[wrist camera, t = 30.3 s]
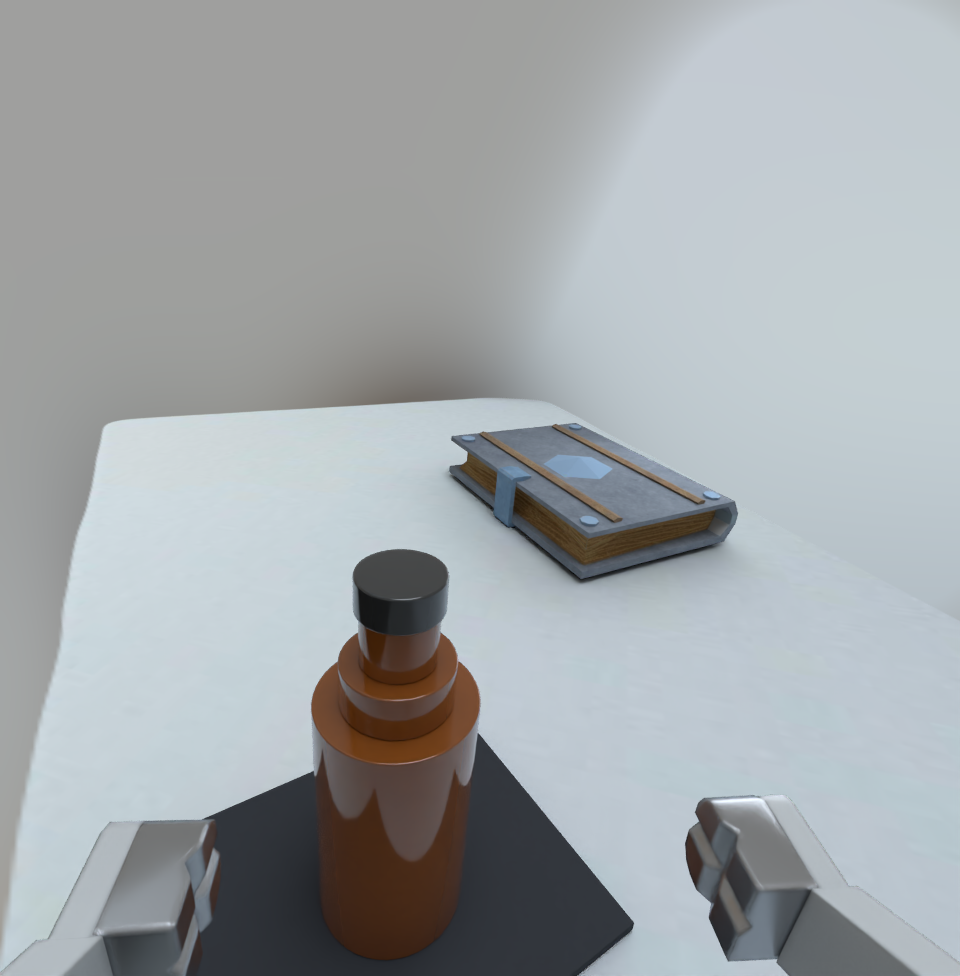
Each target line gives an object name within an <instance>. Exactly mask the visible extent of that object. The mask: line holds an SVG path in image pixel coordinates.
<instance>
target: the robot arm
mask: <svg viewBox="0 0 960 976" xmlns="http://www.w3.org/2000/svg"><path fill="white" fill-rule="evenodd" d="M695 813H696V815H697V817H698V820H699V822H698V823H697V824H695V825H694V826H693V827H692V828H691V829H689V832H688V835H687V839H686V842H685V847H686V861H687V865H688V869H689V872H690V875H691V878H692V880H693V883H694V885H695V887H696V890H697V891H698V892H699V893H701V894H702V895H703V896H704V897H705V898H706V899H707V900H708V901H709V902H711V907H710V913H709V920H710V922H711V924H712V926H713V929H714V931H715V933H716V936H717V938H718V940H719V942H720V945H721V947H722V949H723V951H724V954H725V956H726V958H727V960H728V961H748V960H768V959H778V960H777V963H778V965H779V966H780V967H781V968H782V969H783V970H784V971H785V972H786V973H787V974H788V975H789V976H960V962H959V961H957V960H956V959H955V958H953V957H952V956H951V955H949V954H948V953H947V952H945V951H944V950H943V949H941V948H940V947H939V946H937V945H936V944H935V943H933V942H932V941H931V940H929V939H928V938H927V937H925V936H924V935H923V934H921V933H920V932H919V931H917V930H916V929H915V928H913V927H912V926H911V925H909V924H908V923H907V922H905V921H904V920H903V919H901V918H900V917H899V916H897V915H896V914H894V913H893V912H892V911H890V910H889V909H888V908H886V907H885V906H884V905H882V904H881V903H880V902H878V901H877V900H876V899H874V898H873V897H872V896H870V895H869V894H868V893H866V892H865V891H864V890H862V889H861V888H860V887H858V886H849V885H848V883H847V882H846V880H845V879H844V877H843V876H842V874H841V873H840V871H839V870H838V868H837V867H836V865H835V864H834V862H833V861H832V859H831V858H830V856H829V855H828V853H827V852H826V850H825V849H824V847H823V846H822V844H821V843H820V841H819V840H818V838H817V837H816V835H815V834H814V833H813V831H812V830H811V828H810V827H809V825H808V824H807V822H806V821H805V819H804V818H803V816H802V815H801V813H800V812H799V810H798V809H797V807H796V806H795V804H794V803H793V802H792V800H791V799H789V798H788V797H787V796H785V795H765V796H754V795H747V796H730V797H713V798H704V799H702V800H701V801H700V802H699V803H698V805H697V808H696V811H695ZM217 834H218V833H217V827H216V822H215V820H165V821H124V822H109V824H108V825H107V826H106V827H105V828H104V830H103V831H102V832H101V833H100V835H99V837H98V839H97V841H96V843H95V845H94V847H93V849H92V851H91V853H90V855H89V857H88V859H87V861H86V863H85V865H84V867H83V869H82V871H81V873H80V875H79V877H78V879H77V881H76V883H75V885H74V887H73V889H72V891H71V893H70V895H69V897H68V899H67V901H66V903H65V905H64V907H63V909H62V911H61V913H60V915H59V917H58V919H57V921H56V923H55V925H54V927H53V929H52V931H51V933H50V935H49V937H48V939H44V940H36V941H35V942H34V943H33V944H31V945H30V946H29V947H28V948H27V949H26V950H25V951H24V952H22V953H21V954H20V955H19V956H18V957H17V958H16V959H15V960H14V961H12V962H11V963H10V964H9V965H8V966H7V967H6V968H5V969H4V970H2V971H1V972H0V976H197V973H198V970H199V966H200V963H201V959H202V956H203V951H202V944H201V937H200V934H201V933H202V931H203V930H204V929H205V928H206V927H207V926H208V925H209V924H210V923H211V922H212V919H213V915H214V911H215V907H216V903H217V899H218V893H219V887H220V880H221V856H220V852H218V851H217V850H216V849H215V848H214V844H215V841H216V837H217Z"/></svg>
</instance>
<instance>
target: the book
mask: <svg viewBox="0 0 960 976" xmlns="http://www.w3.org/2000/svg"><path fill="white" fill-rule="evenodd" d="M451 440H452V441H453V442H455V443H456V444H457V445H459V446H460V447H462V448H463V449H464V450H466V451H467V452H468V455H467V462H465V463H464V464H462V465H455V466H450V470H449V472H450V473H452V474H453V475H454V476H455V477H457V478H458V479H459V480H460V481H461V482H463V483H464V484H465V485H466V486H468V487H469V488H470V489H471V490H472V491H474V492H475V493H476V494H477V495H479V496H480V497H481V498H482V499H483V500H485V501H486V502H487V503H488V504H490V505H491V506H492V507H493V508H494V513H493V514H494V515H495V516H496V517H497V518H498V519H499V520H501V521H502V522H503V523H504V524H505V525H507V526H508V527H514V526H517V527H518V528H519V529H520V530H522V531H523V532H524V533H525V534H526V535H528V536H529V537H530V538H531V539H533V540H534V541H535V542H536V543H537V544H539V545H540V546H541V547H542V548H544V549H545V550H546V551H547V552H549V553H550V554H551V555H552V556H553V557H555V558H556V559H557V560H558V561H560V562H561V563H562V564H563V565H564V566H566V567H567V568H568V569H569V570H571V571H572V572H573V573H574V574H576V575H577V576H578V577H579V578H580V579H583V578H587V577H591V576H594V575H598V574H602V573H606V572H610V571H613V570H617V569H621V568H625V567H628V566H632V565H636V564H640V563H643V562H647V561H651V560H655V559H659V558H662V557H666V556H670V555H674V554H677V553H681V552H685V551H689V550H693V549H696V548H700V547H704V546H708V545H711V544H715V543H719V542H723V541H724V540H725V538H726V537H727V535H728V534H729V532H730V531H731V529H732V528H733V526H734V525H735V523H736V519H737V516H738V512H737V508H736V504H735V501H733V500H731V499H729V498H727V497H725V496H723V495H721V494H719V493H717V492H715V491H713V490H711V489H709V488H707V487H705V486H703V485H701V484H699V483H697V482H695V481H693V480H691V479H689V478H687V477H685V476H682V475H680V474H678V473H676V472H674V471H672V470H670V469H668V468H666V467H664V466H662V465H660V464H658V463H656V462H654V461H652V460H650V459H648V458H646V457H644V456H642V455H640V454H638V453H636V452H634V451H632V450H630V449H628V448H626V447H624V446H621V445H619V444H617V443H615V442H613V441H611V440H609V439H607V438H605V437H603V436H601V435H599V434H597V433H595V432H593V431H591V430H589V429H587V428H585V427H583V426H581V425H579V424H577V423H572V424H563V425H557V424H555V425H553V426H544V427H535V428H525V429H516V430H506V431H497V432H482V433H478V434H468V435H459V436H452V439H451Z"/></svg>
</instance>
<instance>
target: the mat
mask: <svg viewBox="0 0 960 976" xmlns="http://www.w3.org/2000/svg"><path fill="white" fill-rule="evenodd" d="M202 820H215V822H216V827H217V833H218V834H217V837H216V841H215V844H214V848H215V849H216V850H217V851H218V852H220V856H221V880H220V887H219V893H218V899H217V903H216V907H215V911H214V915H213V919H212V922H211V923H210V924H209V925H208V926H207V927H206V928H205V929H204V930H203V931H202V933H201V934H200V937H201V944H202V951H203V956H202V959H201V963H200V966H199V970H198V973H197V976H577V975H578V974H579V973H580V972H581V971H583V970H584V969H585V968H586V967H588V966H589V965H590V964H591V963H592V962H594V961H595V960H596V959H597V958H598V957H600V956H601V955H602V954H603V953H604V952H606V951H607V950H608V949H609V948H611V947H612V946H613V945H614V944H615V943H617V942H618V941H619V940H620V939H621V938H623V937H624V936H625V935H626V934H627V933H629V932H630V931H631V930H632V929H633V925H634V922H633V921H632V920H631V919H630V917H629V916H628V915H627V914H626V913H625V911H624V910H623V909H622V908H621V906H620V905H619V904H618V903H617V902H616V900H615V899H614V898H613V897H612V895H611V894H610V893H609V892H608V891H607V889H606V888H605V887H604V886H603V884H602V883H601V882H600V881H599V880H598V878H597V877H596V876H595V875H594V874H593V872H592V871H591V870H590V869H589V867H588V866H587V865H586V864H585V863H584V861H583V860H582V859H581V858H580V856H579V855H578V854H577V853H576V852H575V850H574V849H573V848H572V847H571V845H570V844H569V843H568V842H567V841H566V839H565V838H564V837H563V836H562V834H561V833H560V832H559V831H558V830H557V828H556V827H555V826H554V825H553V824H552V822H551V821H550V820H549V819H548V817H547V816H546V815H545V814H544V813H543V811H542V810H541V809H540V808H539V806H538V805H537V804H536V803H535V802H534V800H533V799H532V798H531V797H530V795H529V794H528V793H527V792H526V791H525V789H524V788H523V787H522V786H521V785H520V783H519V782H518V781H517V780H516V778H515V777H514V776H513V775H512V774H511V772H510V771H509V770H508V769H507V767H506V766H505V765H504V764H503V763H502V761H501V760H500V759H499V758H498V756H497V755H496V754H495V753H494V752H493V750H492V749H491V748H490V747H489V746H488V744H487V743H486V742H485V741H484V739H483V738H482V737H481V736H480V735H479V733H478V734H477V743H476V753H475V762H474V772H473V781H472V791H471V800H470V810H469V819H468V829H467V838H466V848H465V857H464V867H463V876H462V886H461V893H460V899H459V903H458V906H457V909H456V911H455V914H454V916H453V918H452V919H451V921H450V923H449V925H448V926H447V927H446V929H445V930H444V931H443V932H442V934H441V935H440V936H439V937H438V938H437V939H436V940H435V941H433V942H432V943H431V944H430V945H428V946H427V947H426V948H424V949H422V950H420V951H419V952H417V953H414V954H412V955H409V956H407V957H403V958H399V959H392V960H376V959H370V958H366V957H363V956H360V955H358V954H356V953H354V952H352V951H350V950H348V949H347V948H346V947H344V946H343V945H342V944H341V943H340V942H339V941H338V940H337V939H336V938H335V937H334V936H333V934H332V933H331V932H330V930H329V929H328V927H327V925H326V923H325V921H324V918H323V915H322V911H321V906H320V896H319V874H318V851H317V828H316V806H315V783H314V771H313V772H311V773H308V774H306V775H304V776H301V777H299V778H297V779H294V780H292V781H290V782H288V783H285V784H283V785H281V786H278V787H276V788H274V789H271V790H269V791H267V792H264V793H262V794H260V795H258V796H255V797H253V798H251V799H248V800H246V801H244V802H241V803H239V804H237V805H234V806H232V807H230V808H228V809H225V810H223V811H221V812H218V813H216V814H214V815H211V816H209V817H207V818H204V819H202Z"/></svg>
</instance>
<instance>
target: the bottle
mask: <svg viewBox="0 0 960 976" xmlns="http://www.w3.org/2000/svg"><path fill="white" fill-rule="evenodd" d="M448 588H449V572H448V570H447V567H446V566H445V565H444V564H443V562H441V561H440V560H439V559H437V558H436V557H434V556H432V555H430V554H427V553H424V552H420V551H415V550H407V549H395V550H386V551H381V552H378V553H375V554H372V555H370V556H368V557H366V558H364V559H363V560H361V561H360V562H359V563H358V564H357V566H356V567H355V569H354V571H353V612H354V615H355V617H356V619H357V620H358V633H357V634H355V635H354V636H353V637H351V638H350V639H349V640H348V641H347V642H346V643H345V645H344V646H343V648H342V650H341V651H340V654H339V657H338V662H336V663H335V664H334V665H333V666H331V667H330V668H329V669H328V670H327V671H326V672H325V674H324V675H323V676H322V678H321V679H320V680H319V682H318V684H317V686H316V688H315V690H314V693H313V696H312V702H311V716H312V738H313V761H314V783H315V806H316V828H317V851H318V874H319V896H320V906H321V911H322V915H323V918H324V921H325V923H326V925H327V927H328V929H329V930H330V932H331V933H332V934H333V936H334V937H335V938H336V939H337V940H338V941H339V942H340V943H341V944H342V945H343V946H344V947H346V948H347V949H348V950H350V951H352V952H354V953H356V954H358V955H360V956H363V957H366V958H370V959H376V960H392V959H399V958H403V957H407V956H409V955H412V954H414V953H417V952H419V951H420V950H422V949H424V948H426V947H427V946H428V945H430V944H431V943H432V942H433V941H435V940H436V939H437V938H438V937H439V936H440V935H441V934H442V932H443V931H444V930H445V929H446V927H447V926H448V925H449V923H450V921H451V919H452V918H453V916H454V914H455V911H456V909H457V906H458V903H459V899H460V893H461V886H462V876H463V867H464V857H465V848H466V838H467V829H468V819H469V810H470V800H471V791H472V781H473V772H474V762H475V753H476V743H477V734H478V724H479V715H480V693H479V689H478V686H477V684H476V681H475V680H474V678H473V676H472V675H471V673H470V672H469V671H468V669H467V668H466V667H465V666H464V665H463V664H462V663H460V662H459V661H458V655H457V652H456V649H455V647H454V646H453V644H452V643H451V641H450V640H449V639H448V638H447V637H446V636H444V635H443V634H442V633H440V630H441V621H442V619H443V618H444V616H445V615H446V612H447V602H448Z"/></svg>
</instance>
